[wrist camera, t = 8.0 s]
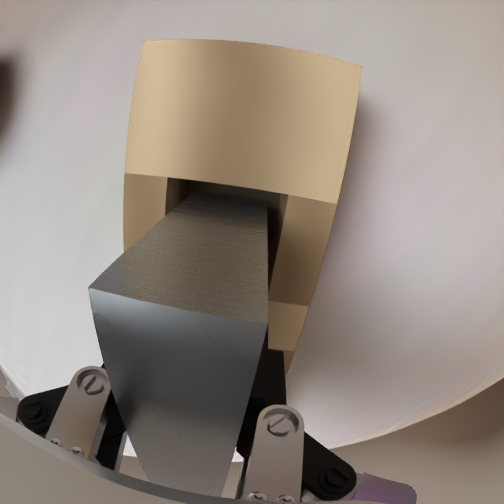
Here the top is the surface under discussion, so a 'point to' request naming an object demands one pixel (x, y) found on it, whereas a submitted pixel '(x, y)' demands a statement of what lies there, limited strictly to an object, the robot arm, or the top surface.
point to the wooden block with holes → (245, 151)
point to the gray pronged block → (187, 336)
